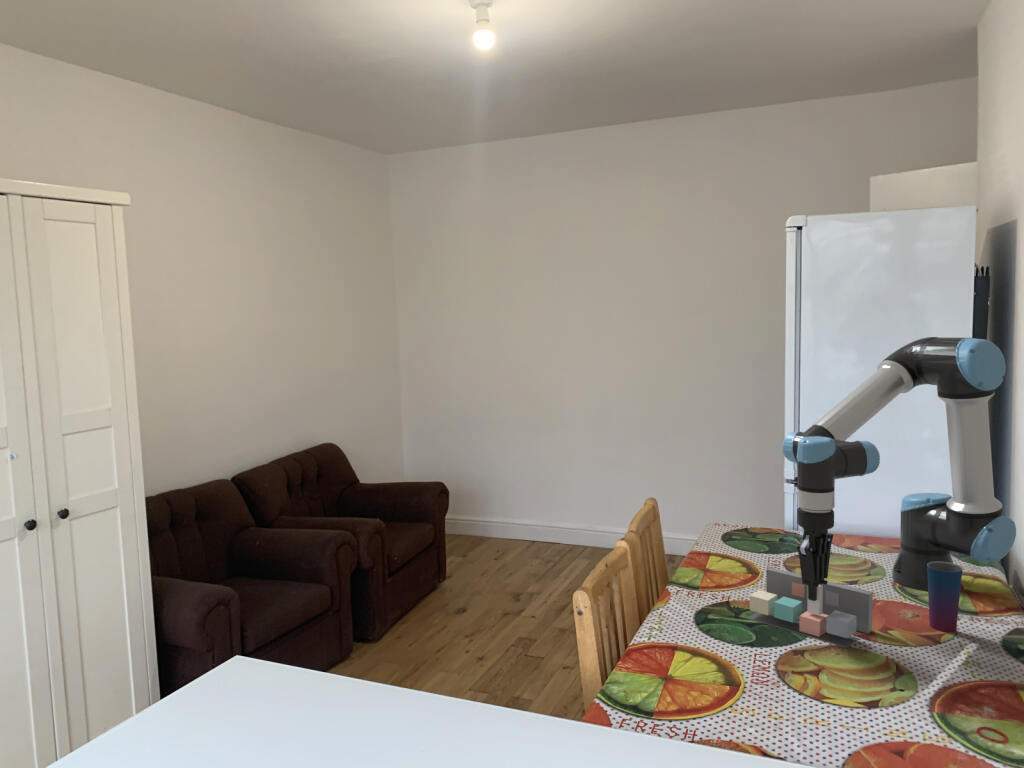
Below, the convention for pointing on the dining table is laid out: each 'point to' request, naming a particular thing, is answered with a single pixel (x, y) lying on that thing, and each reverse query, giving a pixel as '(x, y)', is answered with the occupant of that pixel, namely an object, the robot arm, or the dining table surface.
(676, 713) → the dining table surface
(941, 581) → the cup
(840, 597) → the keypad
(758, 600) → the sand key
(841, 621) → the slate key
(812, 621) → the coral key
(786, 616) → the teal key
